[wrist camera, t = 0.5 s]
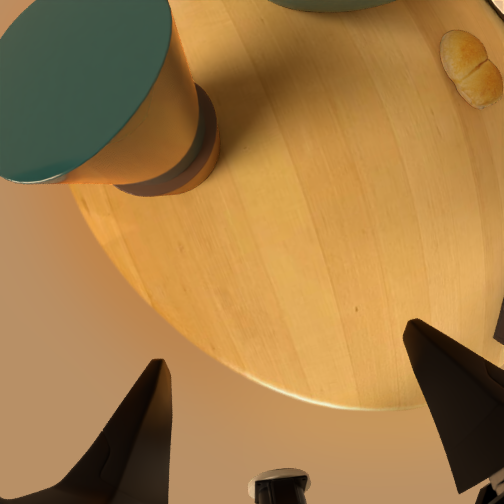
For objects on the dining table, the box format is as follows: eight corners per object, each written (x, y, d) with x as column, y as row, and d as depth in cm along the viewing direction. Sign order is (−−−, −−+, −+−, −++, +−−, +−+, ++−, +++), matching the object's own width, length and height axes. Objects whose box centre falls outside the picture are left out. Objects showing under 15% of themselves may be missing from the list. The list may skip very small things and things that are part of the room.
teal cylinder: (205, 182, 15) (165, 167, 5) (100, 189, 14) (-33, 199, 5) (206, 77, 14) (184, -49, 4) (104, 89, 13) (0, 13, 3)
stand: (220, 192, 21) (217, 193, 15) (126, 197, 20) (92, 201, 15) (220, 98, 19) (217, 67, 14) (127, 106, 19) (97, 82, 13)
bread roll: (457, 30, 19) (478, 19, 15) (496, 96, 20) (519, 91, 17) (421, 42, 19) (444, 28, 15) (467, 119, 21) (493, 114, 17)
